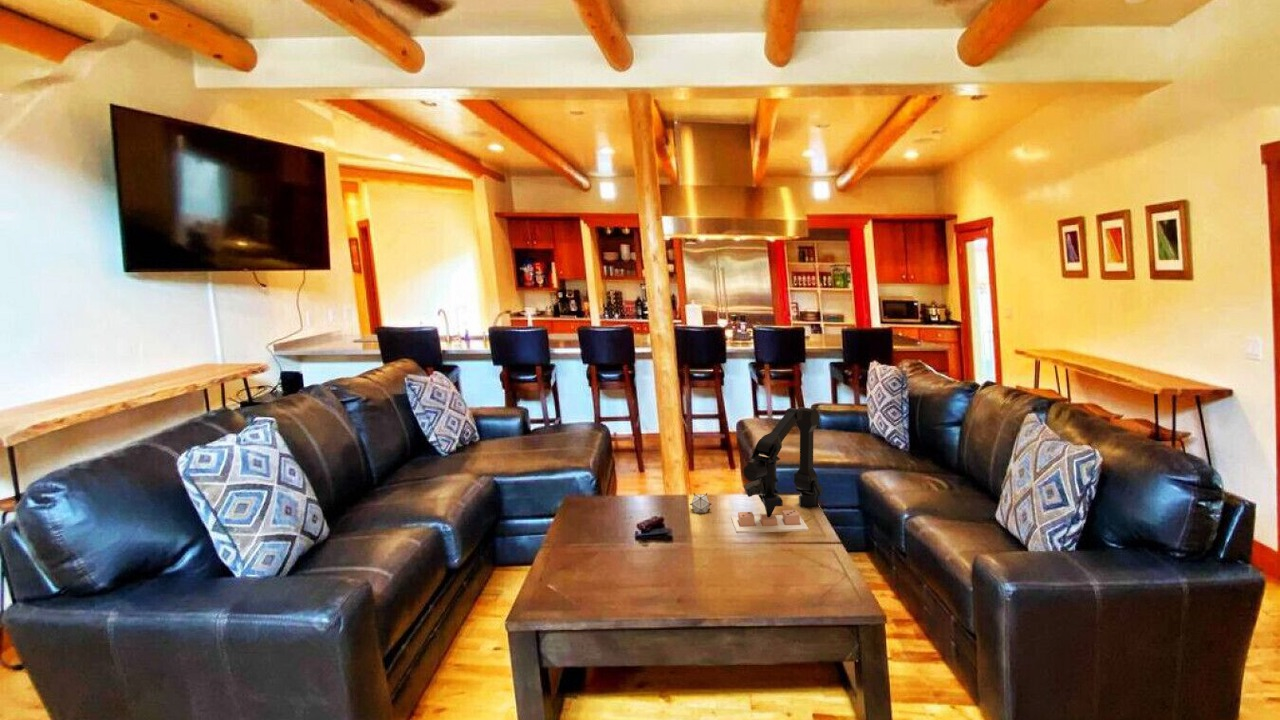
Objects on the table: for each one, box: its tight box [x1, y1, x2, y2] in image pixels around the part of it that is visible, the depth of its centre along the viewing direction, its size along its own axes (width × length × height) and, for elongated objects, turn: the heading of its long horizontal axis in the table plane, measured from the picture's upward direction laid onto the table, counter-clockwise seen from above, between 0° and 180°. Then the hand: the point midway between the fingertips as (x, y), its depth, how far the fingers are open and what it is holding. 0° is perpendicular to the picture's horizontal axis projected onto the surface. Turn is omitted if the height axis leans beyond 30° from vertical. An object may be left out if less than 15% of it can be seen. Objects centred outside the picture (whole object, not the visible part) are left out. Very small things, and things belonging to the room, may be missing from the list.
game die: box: [689, 492, 713, 514], centre depth 231 cm, size 9×8×10 cm
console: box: [730, 514, 810, 534], centre depth 216 cm, size 25×13×2 cm, turn 89°
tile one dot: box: [759, 513, 777, 526], centre depth 216 cm, size 5×5×4 cm
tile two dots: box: [737, 511, 755, 527], centre depth 216 cm, size 5×5×4 cm
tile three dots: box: [782, 509, 801, 525], centre depth 216 cm, size 5×5×4 cm
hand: (768, 516), depth 216 cm, fingers closed, pressing on tile one dot
